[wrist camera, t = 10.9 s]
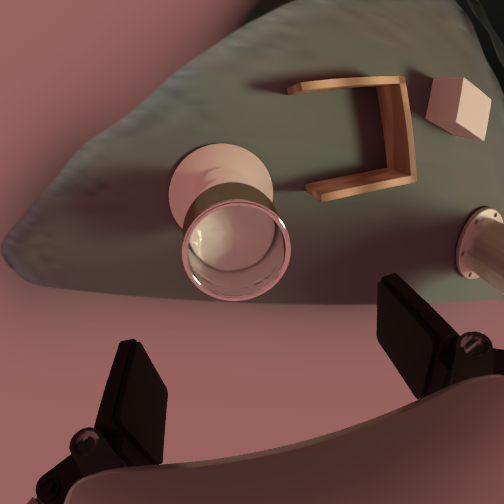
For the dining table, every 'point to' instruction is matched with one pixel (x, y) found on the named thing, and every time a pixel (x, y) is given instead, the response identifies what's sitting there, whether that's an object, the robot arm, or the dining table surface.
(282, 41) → the dining table surface
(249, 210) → the beer glass
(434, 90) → the pale pink cube
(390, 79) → the wooden u-shaped bracket
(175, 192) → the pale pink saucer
